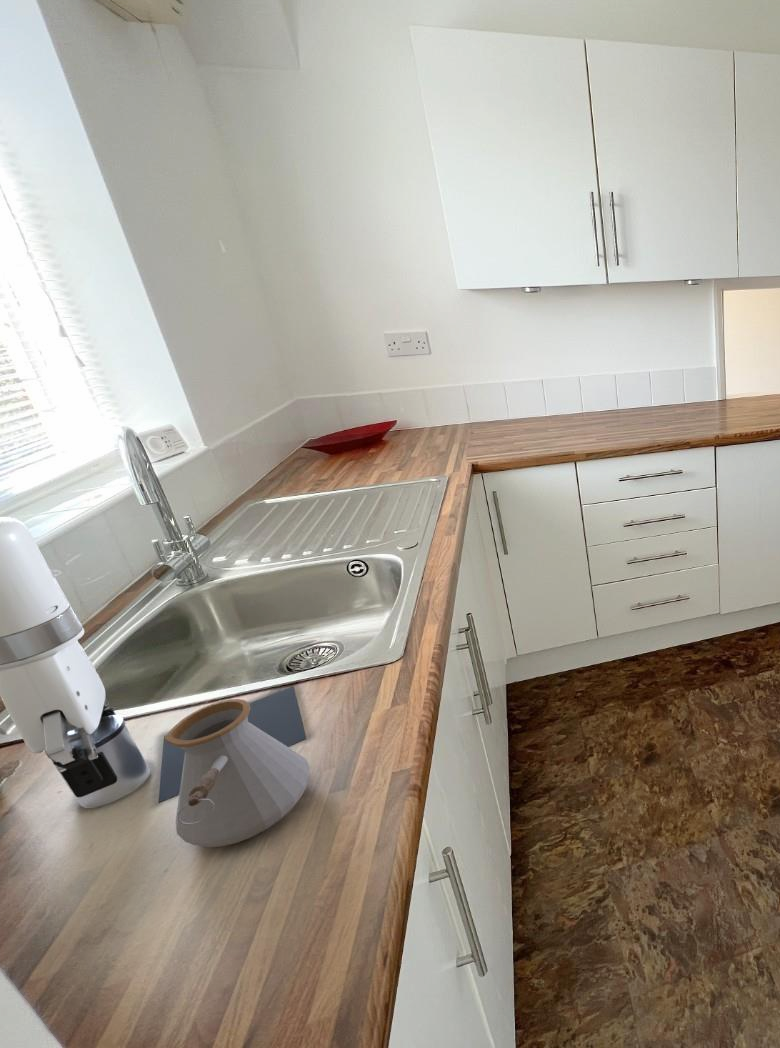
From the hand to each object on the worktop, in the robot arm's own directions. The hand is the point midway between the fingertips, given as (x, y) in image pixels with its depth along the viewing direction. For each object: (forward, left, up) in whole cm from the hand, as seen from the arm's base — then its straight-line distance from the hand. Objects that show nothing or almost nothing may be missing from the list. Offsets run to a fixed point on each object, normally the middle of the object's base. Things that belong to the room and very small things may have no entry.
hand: (103, 763), depth 66 cm
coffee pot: (+12, -21, -4) cm, 24 cm away
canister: (0, 0, -4) cm, 4 cm away
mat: (+11, 0, -4) cm, 12 cm away
